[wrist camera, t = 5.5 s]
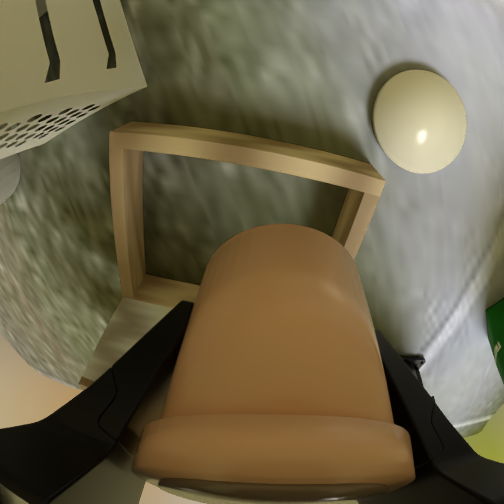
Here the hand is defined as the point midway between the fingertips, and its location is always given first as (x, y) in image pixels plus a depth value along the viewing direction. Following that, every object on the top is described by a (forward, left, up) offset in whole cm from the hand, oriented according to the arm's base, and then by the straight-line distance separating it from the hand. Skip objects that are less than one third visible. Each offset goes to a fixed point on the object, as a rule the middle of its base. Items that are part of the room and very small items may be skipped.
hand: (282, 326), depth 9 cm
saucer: (-8, -7, -12) cm, 16 cm away
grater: (+17, -8, -12) cm, 22 cm away
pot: (0, 0, -2) cm, 2 cm away
